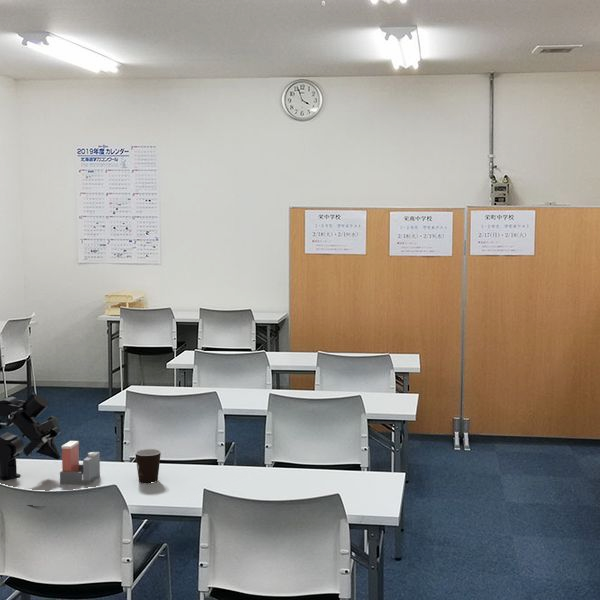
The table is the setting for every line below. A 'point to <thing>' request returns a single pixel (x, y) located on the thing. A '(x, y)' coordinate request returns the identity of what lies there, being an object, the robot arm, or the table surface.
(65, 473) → the grey stepped block
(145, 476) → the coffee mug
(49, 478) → the table surface
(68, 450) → the red rectangular block
